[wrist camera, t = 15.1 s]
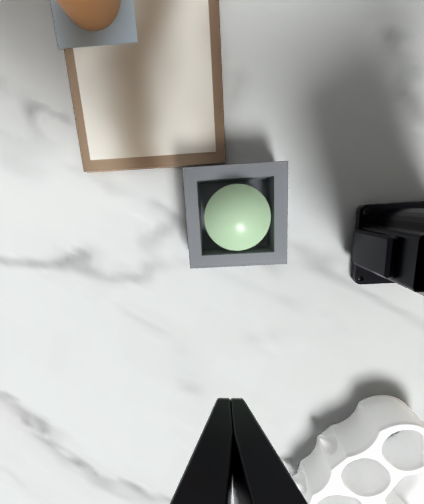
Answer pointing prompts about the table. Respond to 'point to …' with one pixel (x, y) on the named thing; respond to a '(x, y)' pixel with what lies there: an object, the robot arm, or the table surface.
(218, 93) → the board
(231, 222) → the button
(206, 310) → the table surface
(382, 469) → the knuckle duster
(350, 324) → the table surface
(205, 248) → the button housing
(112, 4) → the marker
